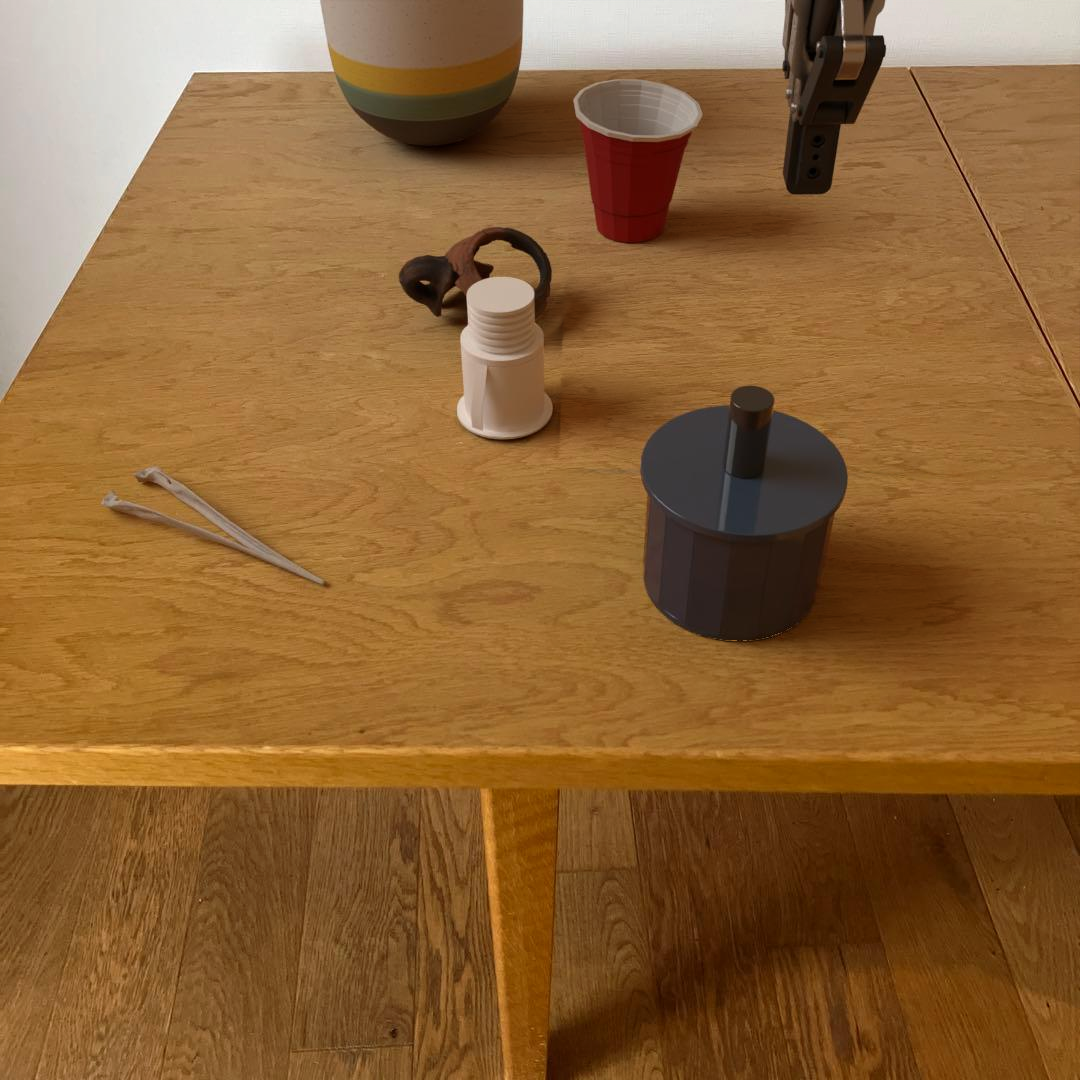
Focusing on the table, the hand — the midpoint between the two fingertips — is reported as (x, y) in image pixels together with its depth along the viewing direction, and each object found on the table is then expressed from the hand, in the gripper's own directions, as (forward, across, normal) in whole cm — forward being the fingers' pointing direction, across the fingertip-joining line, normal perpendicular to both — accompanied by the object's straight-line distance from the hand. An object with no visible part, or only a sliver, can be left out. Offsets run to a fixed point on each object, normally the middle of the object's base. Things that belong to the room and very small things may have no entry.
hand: (805, 186), depth 59 cm
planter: (+25, +63, +26) cm, 73 cm away
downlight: (+25, +15, +17) cm, 34 cm away
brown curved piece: (+25, +28, +20) cm, 42 cm away
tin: (+25, -2, +2) cm, 25 cm away
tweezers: (+25, +1, +35) cm, 43 cm away
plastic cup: (+25, +42, +6) cm, 49 cm away
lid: (+17, -2, +2) cm, 17 cm away
